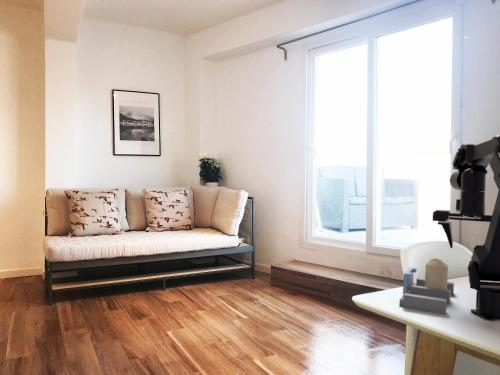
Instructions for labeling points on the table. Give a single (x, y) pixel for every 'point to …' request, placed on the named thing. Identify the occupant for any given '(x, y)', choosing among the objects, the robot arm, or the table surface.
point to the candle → (436, 274)
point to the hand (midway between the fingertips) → (470, 250)
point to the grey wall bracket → (424, 294)
